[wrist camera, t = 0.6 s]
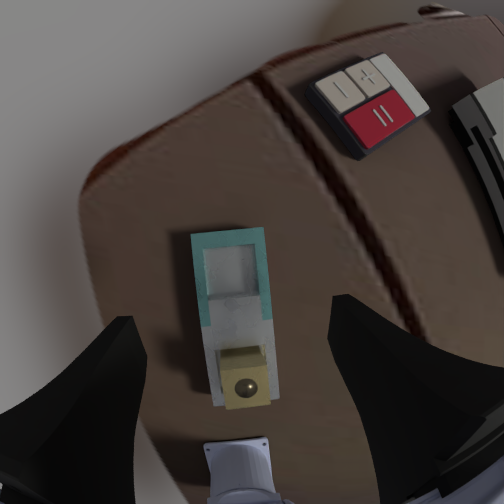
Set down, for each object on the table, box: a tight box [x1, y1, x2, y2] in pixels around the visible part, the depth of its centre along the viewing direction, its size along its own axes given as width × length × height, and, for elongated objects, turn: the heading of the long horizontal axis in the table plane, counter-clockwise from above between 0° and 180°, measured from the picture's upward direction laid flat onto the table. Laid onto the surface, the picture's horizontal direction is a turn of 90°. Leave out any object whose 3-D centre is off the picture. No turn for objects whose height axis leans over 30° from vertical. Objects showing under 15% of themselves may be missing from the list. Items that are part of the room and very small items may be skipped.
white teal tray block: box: [191, 227, 279, 406], centre depth 29 cm, size 18×7×3 cm, turn 6°
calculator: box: [305, 52, 431, 161], centre depth 31 cm, size 11×4×15 cm
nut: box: [220, 345, 271, 410], centre depth 26 cm, size 4×4×6 cm
